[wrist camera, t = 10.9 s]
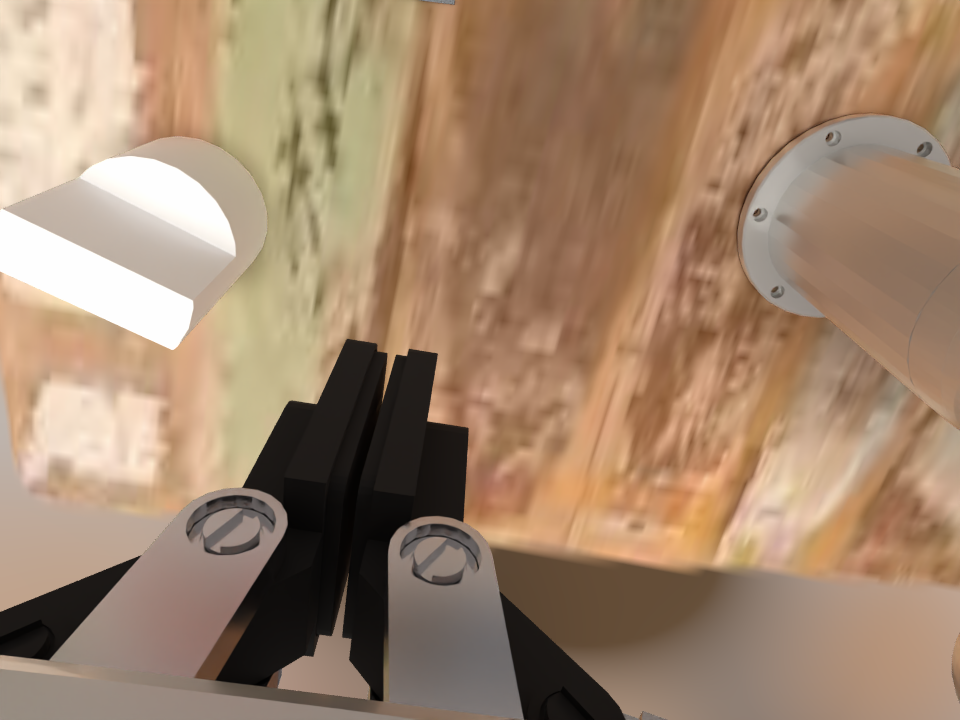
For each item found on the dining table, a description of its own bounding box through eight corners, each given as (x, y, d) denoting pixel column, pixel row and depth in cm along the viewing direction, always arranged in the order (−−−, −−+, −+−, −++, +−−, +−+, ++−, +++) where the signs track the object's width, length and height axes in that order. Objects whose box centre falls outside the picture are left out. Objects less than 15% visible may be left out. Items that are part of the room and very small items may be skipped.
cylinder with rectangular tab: (102, 236, 40) (-31, 315, 30) (143, 105, 37) (9, 142, 26) (238, 302, 42) (159, 398, 32) (290, 185, 39) (221, 249, 28)
